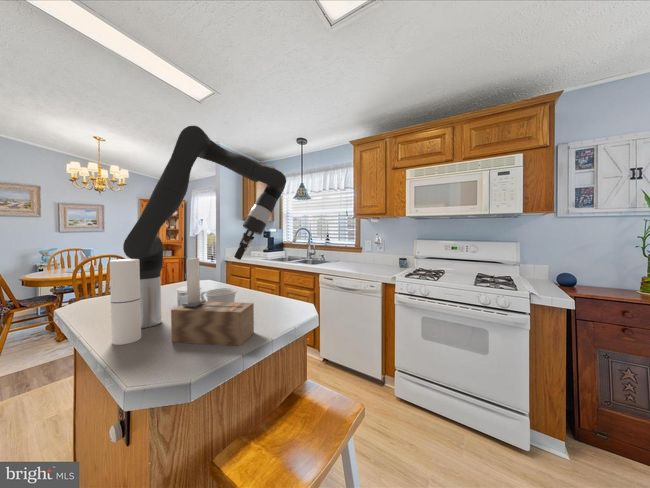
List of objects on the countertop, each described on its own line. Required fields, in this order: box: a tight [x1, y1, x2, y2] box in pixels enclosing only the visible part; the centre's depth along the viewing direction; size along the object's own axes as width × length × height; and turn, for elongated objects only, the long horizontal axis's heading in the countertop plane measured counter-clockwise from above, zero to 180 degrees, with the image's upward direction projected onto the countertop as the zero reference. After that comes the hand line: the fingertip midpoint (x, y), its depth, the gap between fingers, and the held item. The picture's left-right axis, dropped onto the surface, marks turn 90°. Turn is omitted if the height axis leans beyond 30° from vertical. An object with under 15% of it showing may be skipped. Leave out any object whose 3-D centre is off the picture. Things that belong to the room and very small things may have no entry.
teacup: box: [200, 287, 238, 302], centre depth 101 cm, size 12×15×10 cm
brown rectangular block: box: [170, 301, 255, 346], centre depth 80 cm, size 22×10×10 cm, turn 84°
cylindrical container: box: [109, 258, 142, 346], centre depth 77 cm, size 7×7×25 cm
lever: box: [181, 257, 205, 307], centre depth 80 cm, size 4×5×15 cm
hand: (237, 258), depth 90 cm, fingers open, 8 cm apart
